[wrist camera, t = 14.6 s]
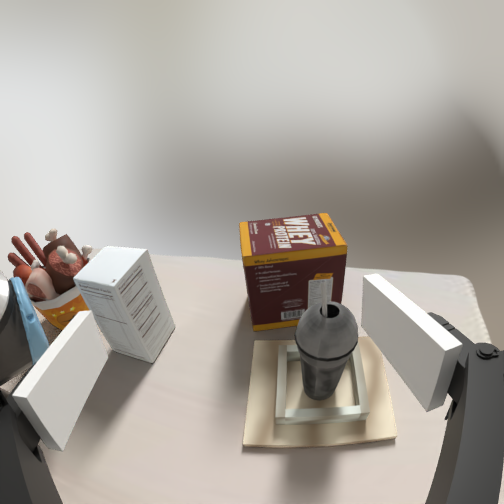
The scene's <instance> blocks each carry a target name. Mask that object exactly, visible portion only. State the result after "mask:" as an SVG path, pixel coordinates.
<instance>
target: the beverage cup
mask: <svg viewBox="0 0 504 504" xmlns="http://www.w3.org/2000/svg"><path fill="white" fill-rule="evenodd" d="M320 282H321V299H322V302H320V303H317V304H314V305H313V306H311V307H310V308H308V309H307V310H306V311H305V312H304V314H303V315H302V317H301V318H300V320H299V323H298V326H297V329H296V332H295V341H296V344H297V348H298V351H299V354H300V361H301V371H302V381H303V387H304V392H305V394H306V395H307V396H308V397H309V398H311V399H313V400H319V401H320V400H325V399H327V398H329V397H330V396H332V395H333V393H334V391H335V389H336V387H337V385H338V383H339V381H340V378H341V376H342V373H343V371H344V368H345V366H346V363H347V361H348V359H349V357H350V355H351V353H352V352H353V351H354V349H355V347H356V345H357V343H358V326H357V323H356V320H355V318H354V316H353V314H352V313H351V312H350V310H349V309H348V308H346V307H345V306H343V305H342V304H340V303H337V302H331V301H327V294H326V281H325V280H324V279H323V280H321V281H320Z"/></svg>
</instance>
